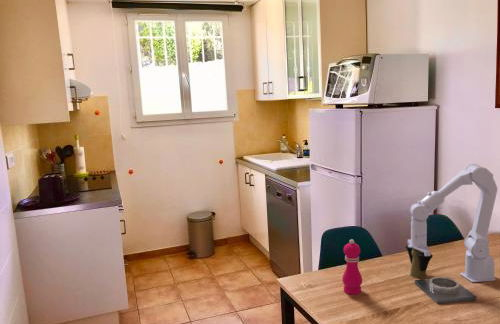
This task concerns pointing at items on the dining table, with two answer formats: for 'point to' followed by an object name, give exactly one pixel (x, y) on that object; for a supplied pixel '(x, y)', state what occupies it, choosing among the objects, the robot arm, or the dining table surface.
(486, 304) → the dining table surface
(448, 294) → the plate
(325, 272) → the dining table surface
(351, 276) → the pepper mill
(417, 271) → the cork
